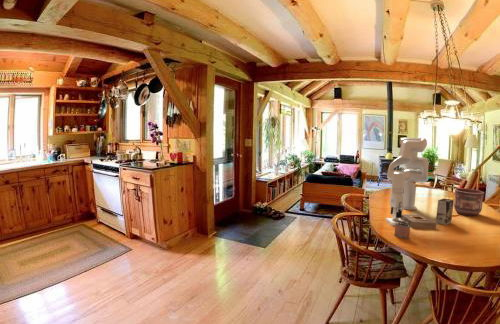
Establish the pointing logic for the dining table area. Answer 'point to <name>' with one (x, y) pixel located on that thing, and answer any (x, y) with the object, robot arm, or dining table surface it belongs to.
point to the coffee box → (444, 211)
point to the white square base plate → (391, 221)
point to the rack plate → (418, 221)
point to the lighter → (402, 229)
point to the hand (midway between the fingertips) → (395, 215)
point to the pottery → (468, 201)
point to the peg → (394, 214)
